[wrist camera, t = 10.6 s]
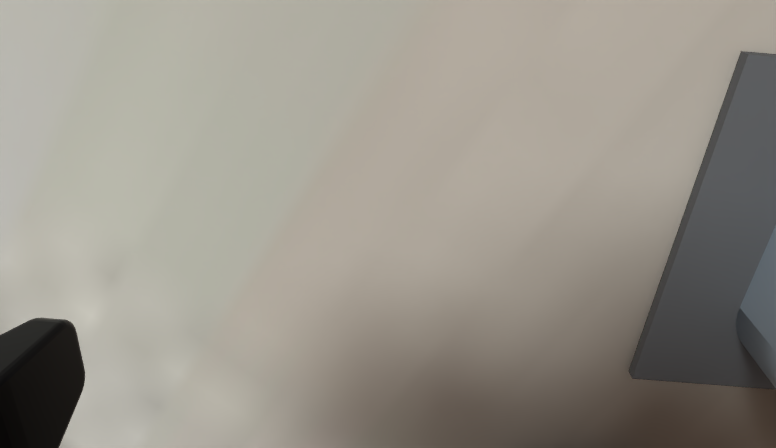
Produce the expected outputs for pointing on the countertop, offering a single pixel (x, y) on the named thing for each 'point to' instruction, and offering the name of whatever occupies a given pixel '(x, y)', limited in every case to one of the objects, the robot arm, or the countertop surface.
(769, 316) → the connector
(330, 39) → the countertop surface
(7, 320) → the countertop surface
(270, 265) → the countertop surface
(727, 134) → the mat
